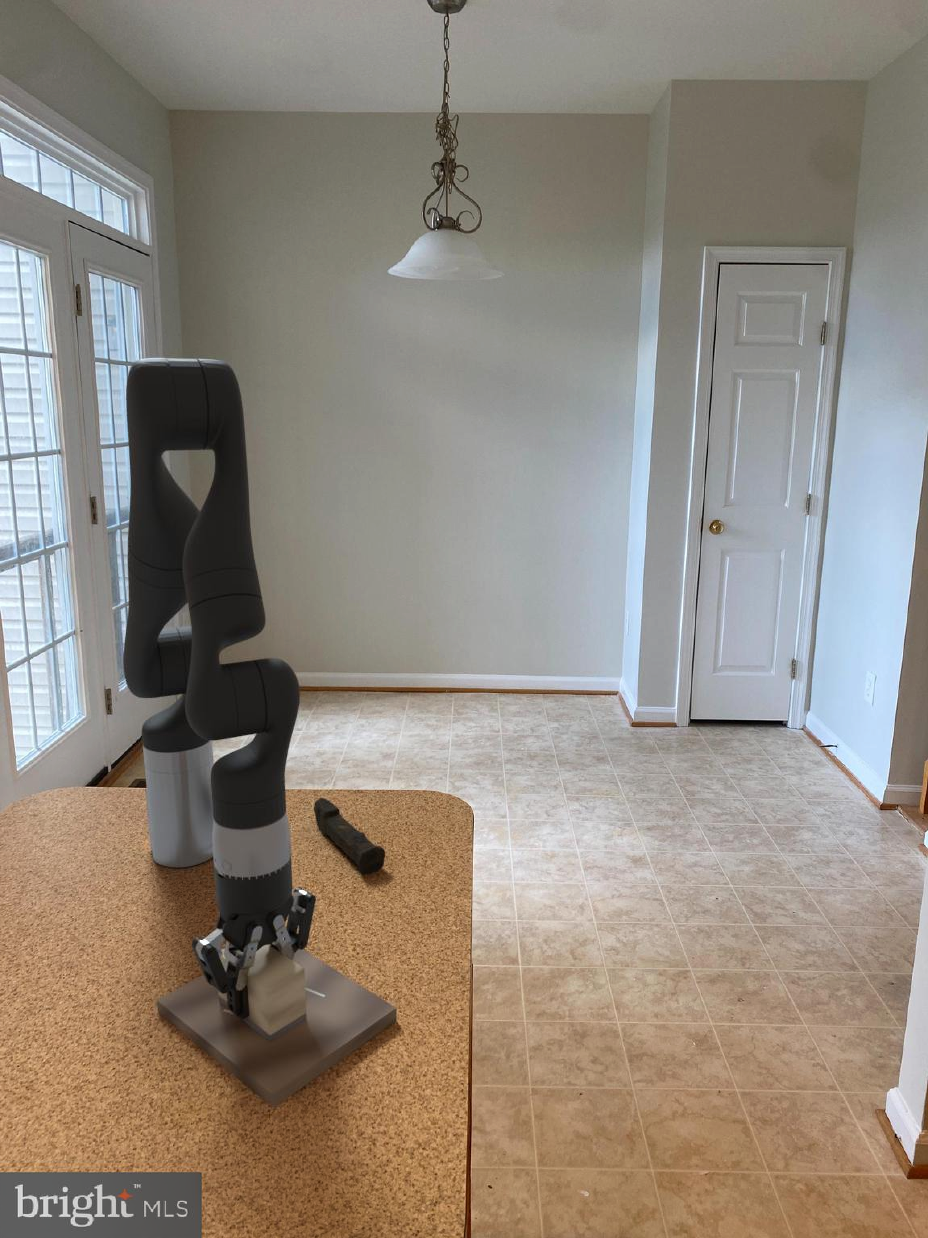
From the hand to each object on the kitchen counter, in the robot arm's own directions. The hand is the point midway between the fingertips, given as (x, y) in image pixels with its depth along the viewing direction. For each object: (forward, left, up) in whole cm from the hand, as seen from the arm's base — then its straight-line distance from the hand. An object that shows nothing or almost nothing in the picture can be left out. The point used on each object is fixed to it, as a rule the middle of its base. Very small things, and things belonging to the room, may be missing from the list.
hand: (261, 1001), depth 93 cm
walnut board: (0, +2, -3) cm, 3 cm away
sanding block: (0, 0, -1) cm, 1 cm away
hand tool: (-23, +30, -3) cm, 38 cm away
